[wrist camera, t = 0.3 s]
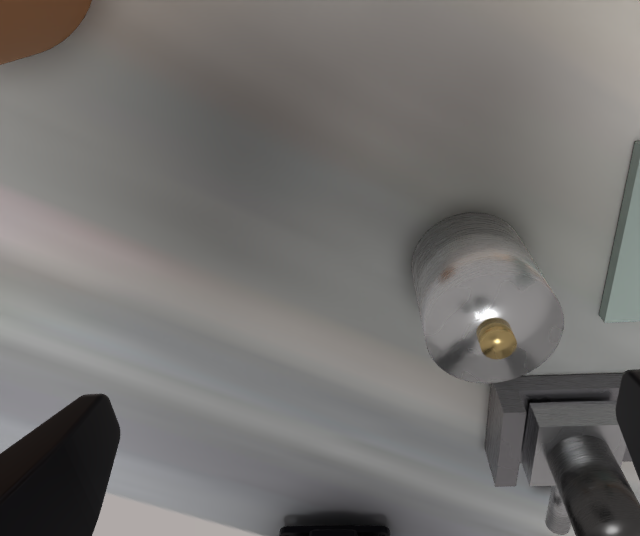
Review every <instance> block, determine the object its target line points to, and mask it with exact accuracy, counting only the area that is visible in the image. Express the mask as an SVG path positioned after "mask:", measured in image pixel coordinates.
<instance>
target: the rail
mask: <svg viewBox="0 0 640 536" xmlns="http://www.w3.org/2000/svg"><path fill="white" fill-rule="evenodd" d="M623 374H624V373H618V374H586V375H553V376H520V377H518V378H515V379H512V380H508V381H503V382H498V383H491V391H490V401H489V412H488V422H487V432H486V443H485V451H486V454H487V458H488V462H489V465H490V469H491V472H492V476H493V480H494V483H495V487H499V486H516V482H517V475H518V468H519V463H522V462H521V459H522V452H523V445H524V438H525V432H526V425H527V418H528V411H529V404H530V403H547V402H585V401H617V397H618V393H619V388H620V383H621V379H622V376H623ZM622 461H632V459H631V456H630V454H629V451H628V448H627V446H626V449H625V453H624V456H623V460H622Z"/></svg>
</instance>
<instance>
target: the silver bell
mask: <svg viewBox="0 0 640 536" xmlns="http://www.w3.org/2000/svg"><path fill="white" fill-rule="evenodd" d="M412 274H413V280H414V285H415V290H416V295H417V300H418V305H419V310H420V315H421V320H422V325H423V331H424V336H425V341H426V345H427V349H428V351H429V353H430V355H431V357H432V358H433V360H434V361H435V362H436V364H437V365H438V366H439V367H440V368H442V369H443V370H444V371H446V372H447V373H449V374H450V375H452V376H454V377H456V378H459V379H462V380H465V381H470V382H476V383H498V382H503V381H508V380H512V379H515V378H518V377H520V376H523V375H525V374H527V373H529V372H531V371H532V370H534V369H535V368H537V367H538V366H539V365H541V364H542V363H543V362H544V361H545V360H546V359H547V358H548V357H549V356H550V355H551V354H552V353H553V351H554V350H555V348H556V347H557V345H558V343H559V341H560V339H561V336H562V333H563V327H564V316H563V311H562V308H561V305H560V303H559V301H558V299H557V298H556V296H555V294H554V293H553V291H552V290H551V288H550V286H549V285H548V283H547V281H546V280H545V278H544V276H543V275H542V273H541V272H540V270H539V268H538V267H537V265H536V263H535V262H534V260H533V258H532V257H531V255H530V253H529V252H528V250H527V249H526V247H525V245H524V244H523V242H522V240H521V239H520V237H519V236H518V234H517V233H516V231H515V230H514V229H513V228H512V227H511V226H510V225H509V224H508V223H506V222H505V221H503V220H501V219H500V218H497V217H495V216H492V215H488V214H484V213H464V214H459V215H455V216H452V217H449V218H447V219H444V220H442V221H440V222H439V223H437V224H436V225H434V226H433V227H432V228H431V229H429V230H428V231H427V232H426V233H425V234H424V235H423V237H422V238H421V239H420V241H419V242H418V244H417V246H416V248H415V251H414V253H413V258H412Z"/></svg>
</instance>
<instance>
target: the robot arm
mask: <svg viewBox="0 0 640 536" xmlns="http://www.w3.org/2000/svg"><path fill="white" fill-rule="evenodd" d="M615 412H616V418H617V422H618V425H619V427H620V430H621V433H622V435H623V438H624V441H625V443H626V446H627V448H628V451H629V454H630V456H631V459H632V462H633V464H634V467H635V470H636V472H637V475H638V477H639V480H640V369H637V370H627V371H626V372H624V374H623V376H622V379H621V383H620V388H619V393H618V397H617V402H616V408H615ZM119 440H120V427H119V424H118V421H117V418H116V416H115V413H114V410H113V408H112V405H111V402H110V400H109V398H108V397H107V396H106V395H104V394H87V395H83V396H81V397H79V398H78V399H76V400H75V401H73V402H72V403H71V404H69V405H68V406H66V407H65V408H64V409H62V410H61V411H59V412H58V413H57V414H55V415H54V416H52V417H51V418H50V419H48V420H47V421H45V422H44V423H43V424H41V425H40V426H38V427H37V428H36V429H34V430H33V431H31V432H30V433H29V434H27V435H26V436H25V437H23V438H22V439H20V440H19V441H18V442H16V443H15V444H13V445H12V446H11V447H9V448H8V449H6V450H5V451H4V452H2V453H1V454H0V536H92V534H93V531H94V528H95V525H96V522H97V520H98V517H99V514H100V510H101V507H102V503H103V499H104V496H105V492H106V489H107V485H108V481H109V478H110V474H111V470H112V466H113V463H114V459H115V455H116V452H117V448H118V444H119ZM280 536H390V530H389V528H388V527H385V526H287V527H283V528H281V529H280Z"/></svg>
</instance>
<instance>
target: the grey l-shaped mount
mask: <svg viewBox="0 0 640 536" xmlns="http://www.w3.org/2000/svg"><path fill="white" fill-rule="evenodd" d="M599 316H600V317H601V319H602V320H603V321H604V323H611V322H637V321H640V141H635V144H634V149H633V154H632V159H631V163H630V168H629V173H628V178H627V183H626V187H625V192H624V197H623V202H622V207H621V211H620V216H619V221H618V226H617V231H616V236H615V240H614V245H613V250H612V255H611V260H610V264H609V269H608V274H607V279H606V284H605V288H604V293H603V298H602V303H601V308H600V313H599Z"/></svg>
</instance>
